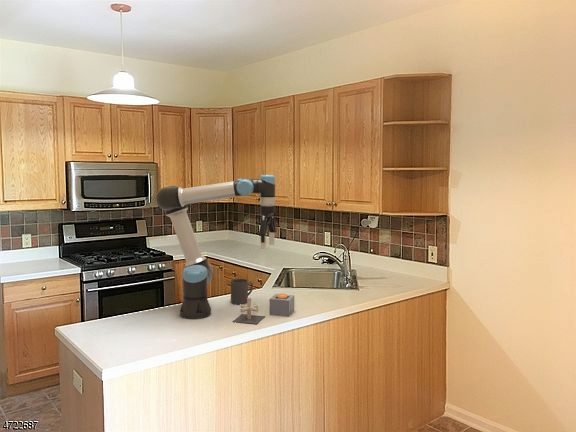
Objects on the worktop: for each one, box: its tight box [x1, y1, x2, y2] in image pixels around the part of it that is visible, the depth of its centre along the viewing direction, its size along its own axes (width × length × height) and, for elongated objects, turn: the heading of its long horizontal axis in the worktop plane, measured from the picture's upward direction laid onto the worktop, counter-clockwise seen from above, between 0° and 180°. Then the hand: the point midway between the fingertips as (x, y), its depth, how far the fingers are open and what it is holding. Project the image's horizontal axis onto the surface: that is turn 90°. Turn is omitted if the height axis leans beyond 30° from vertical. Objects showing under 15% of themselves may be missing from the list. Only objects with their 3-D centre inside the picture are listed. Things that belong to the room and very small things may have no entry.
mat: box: [232, 313, 266, 326], centre depth 234 cm, size 12×12×1 cm
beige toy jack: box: [239, 297, 259, 319], centre depth 234 cm, size 10×10×10 cm
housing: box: [269, 293, 296, 317], centre depth 245 cm, size 10×10×8 cm
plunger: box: [276, 293, 288, 299], centre depth 244 cm, size 5×5×2 cm
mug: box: [230, 278, 254, 306], centre depth 264 cm, size 14×9×12 cm
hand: (267, 246), depth 251 cm, fingers open, 13 cm apart
